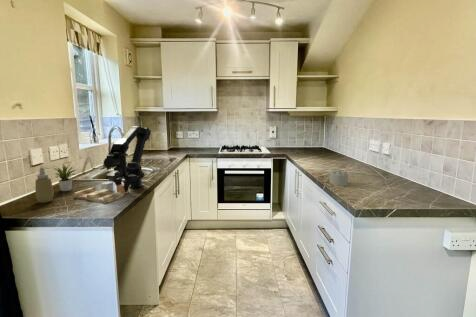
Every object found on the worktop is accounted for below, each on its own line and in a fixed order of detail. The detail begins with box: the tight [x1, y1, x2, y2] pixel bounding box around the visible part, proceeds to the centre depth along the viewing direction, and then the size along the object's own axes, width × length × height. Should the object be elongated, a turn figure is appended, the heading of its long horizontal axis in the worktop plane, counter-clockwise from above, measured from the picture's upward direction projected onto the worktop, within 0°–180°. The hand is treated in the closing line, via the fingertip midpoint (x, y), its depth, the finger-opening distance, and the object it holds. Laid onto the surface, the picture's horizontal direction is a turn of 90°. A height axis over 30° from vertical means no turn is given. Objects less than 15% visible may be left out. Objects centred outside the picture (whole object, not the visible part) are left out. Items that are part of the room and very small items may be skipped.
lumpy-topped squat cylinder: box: [329, 169, 349, 187], centre depth 179 cm, size 10×13×9 cm
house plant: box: [52, 163, 77, 192], centre depth 164 cm, size 14×14×16 cm
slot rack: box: [74, 186, 125, 204], centre depth 152 cm, size 12×23×3 cm, turn 67°
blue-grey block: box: [100, 181, 114, 192], centre depth 164 cm, size 4×4×5 cm
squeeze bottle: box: [35, 167, 55, 204], centre depth 143 cm, size 8×8×18 cm
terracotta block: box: [115, 183, 130, 195], centre depth 159 cm, size 4×4×5 cm
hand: (122, 191), depth 159 cm, fingers closed on terracotta block, 4 cm apart
